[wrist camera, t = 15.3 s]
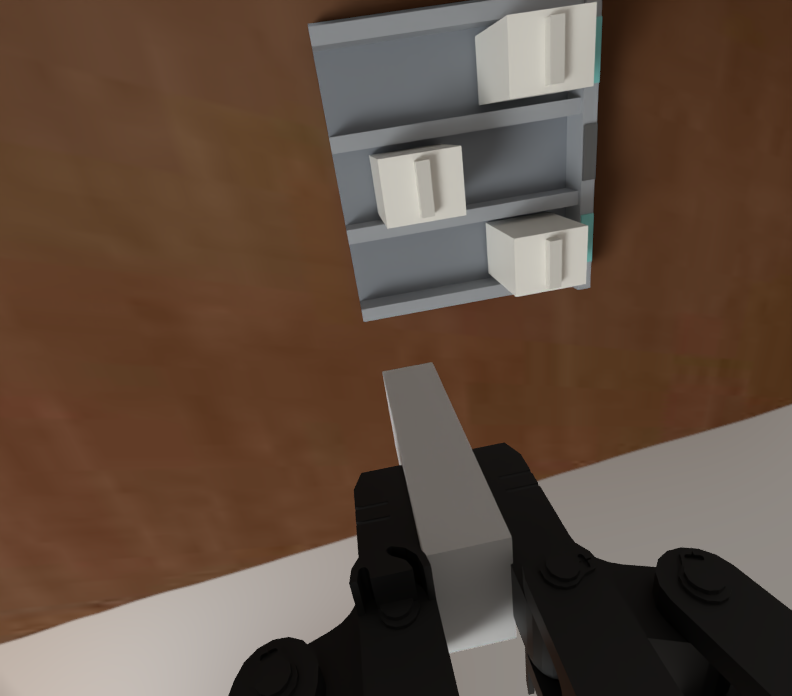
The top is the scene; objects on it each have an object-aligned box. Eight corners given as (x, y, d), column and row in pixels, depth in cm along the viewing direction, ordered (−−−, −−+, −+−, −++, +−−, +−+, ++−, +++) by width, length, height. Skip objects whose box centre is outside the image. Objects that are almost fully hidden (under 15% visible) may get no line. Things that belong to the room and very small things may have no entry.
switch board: (308, 28, 30) (305, 14, 26) (575, -11, 31) (605, -29, 28) (362, 313, 38) (365, 330, 35) (569, 275, 40) (591, 288, 36)
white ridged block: (369, 155, 32) (378, 160, 26) (439, 143, 32) (464, 145, 26) (378, 213, 34) (389, 230, 28) (444, 202, 34) (469, 216, 28)
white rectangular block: (474, 36, 30) (511, 11, 24) (548, 25, 30) (603, -2, 24) (478, 105, 32) (514, 98, 26) (548, 94, 32) (600, 84, 26)
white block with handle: (485, 222, 35) (518, 241, 29) (548, 211, 35) (593, 227, 29) (488, 273, 37) (519, 300, 31) (548, 262, 37) (591, 287, 31)
